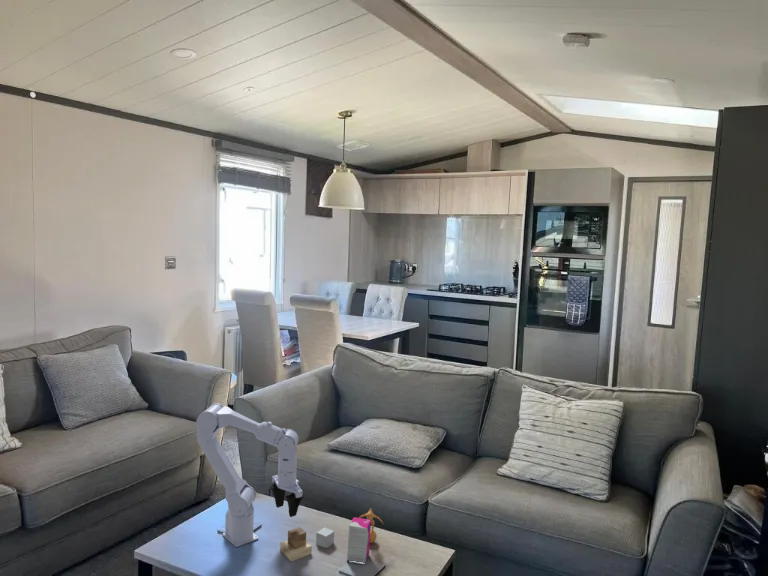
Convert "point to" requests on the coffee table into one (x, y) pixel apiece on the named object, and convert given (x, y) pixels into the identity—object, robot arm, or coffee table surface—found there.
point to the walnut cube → (296, 537)
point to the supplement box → (359, 540)
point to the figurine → (370, 517)
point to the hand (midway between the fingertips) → (286, 511)
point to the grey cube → (325, 537)
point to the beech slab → (295, 550)
